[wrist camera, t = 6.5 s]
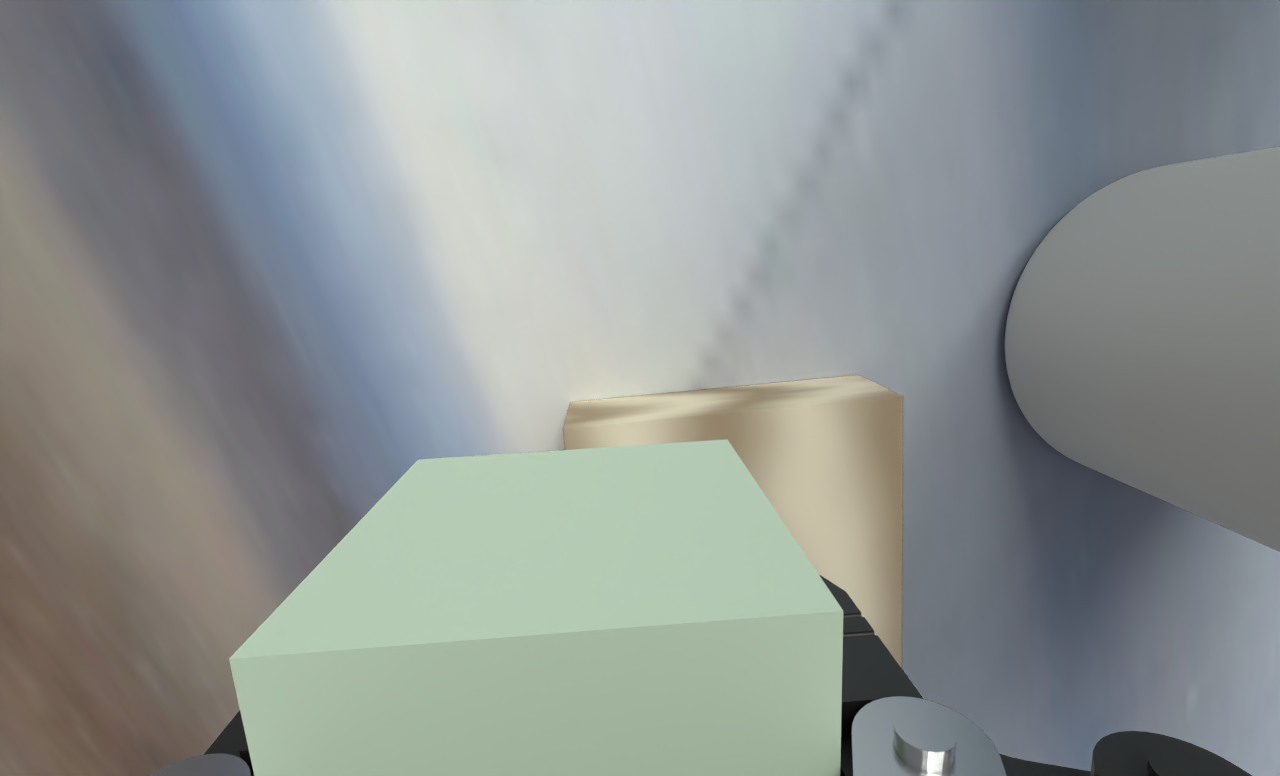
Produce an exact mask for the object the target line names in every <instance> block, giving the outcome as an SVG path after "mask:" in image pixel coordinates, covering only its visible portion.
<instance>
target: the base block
mask: <svg viewBox="0 0 1280 776" xmlns="http://www.w3.org/2000/svg"><path fill="white" fill-rule="evenodd" d="M563 435H564V444H565V450H573V449H588V448H604V447H619V446H634V445H649V444H665V443H680V442H695V441H710V440H725V439H727V440H728V441H729V442H730V444H731V445H732V447H733V448H734V450H735V451H736V453H737V454H738V456H739V457H740V459H741V460H742V462H743V463H744V465H745V466H746V468H747V469H748V471H749V472H750V474H751V475H752V476H753V478H754V479H755V481H756V482H757V484H758V485H759V487H760V488H761V490H762V491H763V493H764V494H765V496H766V497H767V499H768V500H769V502H770V503H771V505H772V506H773V508H774V509H775V510H776V512H777V513H778V515H779V516H780V518H781V519H782V521H783V522H784V524H785V525H786V527H787V528H788V530H789V531H790V533H791V534H792V536H793V537H794V539H795V540H796V542H797V543H798V544H799V546H800V547H801V549H802V550H803V552H804V553H805V555H806V556H807V558H808V559H809V561H810V562H811V564H812V565H813V567H814V568H815V570H816V571H817V573H818V574H819V575H821V576H823V577H824V578H826V579H827V580H829V581H830V582H832V583H833V584H835V585H837V586H838V587H840V588H841V589H843V590H844V591H846V592H847V594H848V595H849V596H850V598H851V599H852V600H853V602H854V603H855V605H856V606H857V607H858V609H859V610H860V612H861V615H862V617H865V619H866V620H867V621H868V623H869V624H870V625H871V627H872V628H873V630H874V633H875V635H878V637H879V638H880V639H881V641H882V642H883V643H884V645H885V646H886V648H887V649H888V650H889V652H890V653H891V655H892V656H893V657H894V659H895V660H896V662H897V663H898V664H899V666H900V667H901V668H902V542H903V396H902V395H900V394H897V393H895V392H893V391H891V390H889V389H887V388H885V387H883V386H881V385H879V384H876V383H874V382H872V381H870V380H868V379H866V378H864V377H862V376H860V375H852V376H841V377H831V378H820V379H810V380H799V381H788V382H778V383H767V384H757V385H746V386H736V387H725V388H715V389H704V390H693V391H683V392H672V393H662V394H651V395H641V396H630V397H619V398H609V399H598V400H588V401H577V402H570V405H569V409H568V412H567V416H566V419H565V423H564V426H563Z"/></svg>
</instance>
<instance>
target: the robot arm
mask: <svg viewBox="0 0 1280 776" xmlns="http://www.w3.org/2000/svg"><path fill="white" fill-rule="evenodd" d="M819 576H820V577H821V578H822V580H823V581H824V583H825V584H826V586H827V587H828V589H829V590H830V592H831V593H832V595H833V596H834V598H835V599H836V601H837V602H838V604H839V605H840V607H841V608H842V610H843V659H842V711H841V764H840V776H1252V775H1250V774H1249V773H1247V772H1245V771H1244V770H1242V769H1241V768H1239V767H1237V766H1236V765H1234V764H1232V763H1231V762H1229V761H1227V760H1225V759H1224V758H1222V757H1220V756H1218V755H1216V754H1214V753H1212V752H1210V751H1208V750H1205V749H1203V748H1201V747H1198V746H1196V745H1193V744H1191V743H1188V742H1185V741H1182V740H1179V739H1176V738H1172V737H1168V736H1164V735H1160V734H1155V733H1149V732H1139V731H1125V732H1117V733H1113V734H1110V735H1108V736H1105V737H1103V738H1102V739H1101V740H1100V741H1099V742H1098V743H1097V744H1096V746H1095V748H1094V750H1093V758H1092V766H1091V772H1090V771H1084V770H1078V769H1072V768H1066V767H1061V766H1055V765H1049V764H1043V763H1037V762H1031V761H1025V760H1021V759H1016V758H1012V757H1008V756H1005V755H1002V754H999V753H998V750H997V748H996V747H995V745H994V744H993V742H992V741H991V739H990V738H989V737H988V736H987V735H986V734H985V733H984V731H983V730H982V729H980V728H979V727H978V726H977V725H976V724H975V723H973V722H972V721H971V720H969V719H968V718H966V717H965V716H963V715H962V714H960V713H958V712H956V711H954V710H952V709H951V708H948V707H946V706H943V705H941V704H939V703H935V702H932V701H929V700H925V699H923V698H922V696H921V695H920V693H919V692H918V691H917V689H916V688H915V687H914V685H913V684H912V682H911V681H910V680H909V678H908V677H907V675H906V674H905V673H904V671H903V670H902V668H901V667H900V666H899V664H898V663H897V662H896V660H895V659H894V657H893V656H892V655H891V653H890V652H889V650H888V649H887V648H886V646H885V645H884V643H883V642H882V641H881V639H880V638H879V637H878V635H875V633H874V630H873V628H872V627H871V625H870V624H869V623H868V621H867V620H866V619H865V617H862V615H861V612H860V610H859V609H858V607H857V606H856V605H855V603H854V602H853V600H852V599H851V598H850V596H849V595H848V594H847V592H846V591H844V590H843V589H841V588H840V587H838V586H837V585H835V584H833V583H832V582H830V581H829V580H827V579H826V578H824V577H823V576H821V575H819ZM147 776H254V772H253V768H252V763H251V758H250V754H249V749H248V744H247V740H246V735H245V730H244V726H243V721H242V717H241V712H240V711H239V712H238V713H237V714H236V716H235V717H234V718H233V719H232V721H231V722H230V723H229V724H228V725H227V727H226V728H225V729H224V730H223V732H222V733H221V734H220V735H219V737H218V738H217V739H216V740H215V741H214V743H213V744H212V745H211V746H210V748H209V749H208V750H207V751H206V752H205V754H204V755H200V756H196V757H192V758H188V759H185V760H182V761H179V762H176V763H173V764H171V765H168V766H166V767H164V768H161V769H159V770H157V771H155V772H153V773H151V774H149V775H147Z"/></svg>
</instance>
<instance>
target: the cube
mask: <svg viewBox="0 0 1280 776" xmlns="http://www.w3.org/2000/svg"><path fill="white" fill-rule="evenodd" d="M842 659H843V610H842V608H841V607H840V605H839V604H838V602H837V601H836V599H835V598H834V596H833V595H832V593H831V592H830V590H829V589H828V587H827V586H826V584H825V583H824V581H823V580H822V578H821V577H820V576H819V574H818V573H817V571H816V570H815V568H814V567H813V565H812V564H811V562H810V561H809V559H808V558H807V556H806V555H805V553H804V552H803V550H802V549H801V547H800V546H799V544H798V543H797V542H796V540H795V539H794V537H793V536H792V534H791V533H790V531H789V530H788V528H787V527H786V525H785V524H784V522H783V521H782V519H781V518H780V516H779V515H778V513H777V512H776V510H775V509H774V508H773V506H772V505H771V503H770V502H769V500H768V499H767V497H766V496H765V494H764V493H763V491H762V490H761V488H760V487H759V485H758V484H757V482H756V481H755V479H754V478H753V476H752V475H751V474H750V472H749V471H748V469H747V468H746V466H745V465H744V463H743V462H742V460H741V459H740V457H739V456H738V454H737V453H736V451H735V450H734V448H733V447H732V445H731V444H730V442H729V441H728V440H727V439H725V440H710V441H695V442H680V443H665V444H649V445H634V446H619V447H604V448H588V449H573V450H558V451H543V452H528V453H512V454H497V455H482V456H467V457H452V458H436V459H421V460H417V461H416V462H415V463H414V465H413V466H412V467H411V468H410V469H409V470H408V471H407V472H406V473H405V474H404V475H403V476H402V477H401V478H400V479H399V480H398V481H397V482H396V483H395V485H394V486H393V487H392V488H391V489H390V490H389V491H388V492H387V493H386V494H385V495H384V496H383V497H382V498H381V499H380V500H379V501H378V502H377V504H376V505H375V506H374V507H373V508H372V509H371V510H370V511H369V512H368V513H367V514H366V515H365V516H364V517H363V518H362V519H361V520H360V521H359V522H358V524H357V525H356V526H355V527H354V528H353V529H352V530H351V531H350V532H349V533H348V534H347V535H346V536H345V537H344V538H343V539H342V540H341V541H340V543H339V544H338V545H337V546H336V547H335V548H334V549H333V550H332V551H331V552H330V553H329V554H328V555H327V556H326V557H325V558H324V559H323V560H322V561H321V563H320V564H319V565H318V566H317V567H316V568H315V569H314V570H313V571H312V572H311V573H310V574H309V575H308V576H307V577H306V578H305V579H304V580H303V582H302V583H301V584H300V585H299V586H298V587H297V588H296V589H295V590H294V591H293V592H292V593H291V594H290V595H289V596H288V597H287V598H286V599H285V600H284V602H283V603H282V604H281V605H280V606H279V607H278V608H277V609H276V610H275V611H274V612H273V613H272V614H271V615H270V616H269V617H268V618H267V619H266V621H265V622H264V623H263V624H262V625H261V626H260V627H259V628H258V629H257V630H256V631H255V632H254V633H253V634H252V635H251V636H250V637H249V638H248V639H247V641H246V642H245V643H244V644H243V645H242V646H241V647H240V648H239V649H238V650H237V651H236V652H235V653H234V654H233V655H232V656H231V657H230V658H229V661H230V666H231V670H232V675H233V680H234V684H235V689H236V693H237V698H238V703H239V707H240V712H241V717H242V721H243V726H244V730H245V735H246V740H247V744H248V749H249V754H250V758H251V763H252V768H253V772H254V776H840V764H841V711H842Z"/></svg>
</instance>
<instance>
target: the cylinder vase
mask: <svg viewBox="0 0 1280 776" xmlns="http://www.w3.org/2000/svg"><path fill="white" fill-rule="evenodd" d="M1005 359H1006V367H1007V373H1008V377H1009V381H1010V385H1011V388H1012V391H1013V394H1014V397H1015V399H1016V401H1017V403H1018V405H1019V407H1020V409H1021V411H1022V413H1023V414H1024V416H1025V418H1026V419H1027V421H1028V422H1029V423H1030V425H1031V426H1032V427H1033V429H1034V430H1035V431H1036V432H1037V433H1038V434H1039V435H1040V436H1041V437H1042V438H1043V439H1044V440H1045V441H1046V442H1047V443H1048V444H1049V445H1050V446H1052V447H1053V448H1054V449H1056V450H1057V451H1058V452H1060V453H1061V454H1063V455H1064V456H1066V457H1068V458H1070V459H1071V460H1073V461H1075V462H1077V463H1080V464H1082V465H1084V466H1086V467H1089V468H1091V469H1093V470H1095V471H1098V472H1100V473H1102V474H1104V475H1107V476H1109V477H1111V478H1114V479H1116V480H1118V481H1120V482H1123V483H1125V484H1127V485H1129V486H1132V487H1134V488H1136V489H1139V490H1141V491H1143V492H1145V493H1148V494H1150V495H1152V496H1154V497H1157V498H1159V499H1161V500H1163V501H1166V502H1168V503H1170V504H1173V505H1175V506H1177V507H1179V508H1182V509H1184V510H1186V511H1188V512H1191V513H1193V514H1195V515H1198V516H1200V517H1202V518H1204V519H1207V520H1209V521H1211V522H1213V523H1216V524H1218V525H1220V526H1222V527H1225V528H1227V529H1229V530H1232V531H1234V532H1236V533H1238V534H1241V535H1243V536H1245V537H1247V538H1250V539H1252V540H1254V541H1257V542H1259V543H1261V544H1263V545H1266V546H1268V547H1270V548H1272V549H1275V550H1277V551H1279V552H1280V146H1279V147H1273V148H1267V149H1261V150H1255V151H1249V152H1243V153H1237V154H1231V155H1225V156H1219V157H1213V158H1207V159H1201V160H1195V161H1189V162H1183V163H1177V164H1171V165H1165V166H1160V167H1155V168H1151V169H1147V170H1143V171H1140V172H1137V173H1134V174H1132V175H1129V176H1126V177H1124V178H1122V179H1119V180H1117V181H1115V182H1113V183H1111V184H1109V185H1107V186H1105V187H1103V188H1102V189H1100V190H1098V191H1097V192H1095V193H1094V194H1092V195H1090V196H1089V197H1088V198H1086V199H1085V200H1083V201H1082V202H1081V203H1079V204H1078V205H1077V206H1076V207H1074V208H1073V209H1072V210H1071V211H1070V212H1068V213H1067V214H1066V215H1065V216H1064V217H1063V218H1062V219H1061V220H1060V221H1059V222H1058V223H1057V224H1056V225H1055V226H1054V227H1053V228H1052V230H1051V231H1050V232H1049V233H1048V234H1047V235H1046V237H1045V238H1044V239H1043V240H1042V242H1041V243H1040V244H1039V246H1038V247H1037V249H1036V250H1035V252H1034V253H1033V255H1032V256H1031V258H1030V260H1029V261H1028V263H1027V265H1026V267H1025V269H1024V271H1023V273H1022V275H1021V277H1020V279H1019V281H1018V284H1017V286H1016V289H1015V292H1014V294H1013V298H1012V301H1011V304H1010V308H1009V313H1008V318H1007V324H1006V332H1005Z"/></svg>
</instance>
